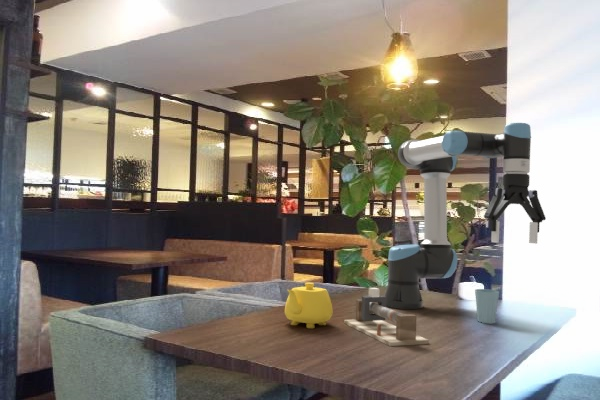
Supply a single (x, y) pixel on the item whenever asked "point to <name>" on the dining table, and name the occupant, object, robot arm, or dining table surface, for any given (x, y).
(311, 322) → the teapot
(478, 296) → the cup
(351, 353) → the dining table surface
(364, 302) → the grey sliding frame
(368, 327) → the pipe rig
